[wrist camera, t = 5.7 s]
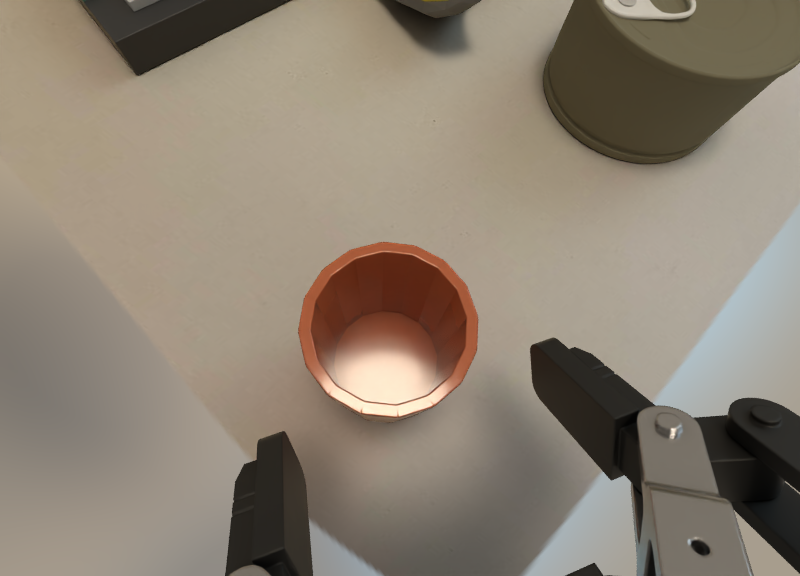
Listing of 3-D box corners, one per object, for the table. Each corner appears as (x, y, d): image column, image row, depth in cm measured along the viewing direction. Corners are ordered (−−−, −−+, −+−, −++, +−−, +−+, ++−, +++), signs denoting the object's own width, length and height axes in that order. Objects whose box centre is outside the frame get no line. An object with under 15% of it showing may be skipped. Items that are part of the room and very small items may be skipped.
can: (750, 147, 27) (870, 56, 20) (581, 183, 25) (652, 96, 19) (666, 15, 30) (744, -98, 24) (514, 39, 29) (554, -75, 22)
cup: (376, 448, 20) (374, 458, 12) (305, 353, 21) (263, 309, 13) (465, 371, 21) (514, 337, 13) (394, 286, 22) (402, 212, 15)
